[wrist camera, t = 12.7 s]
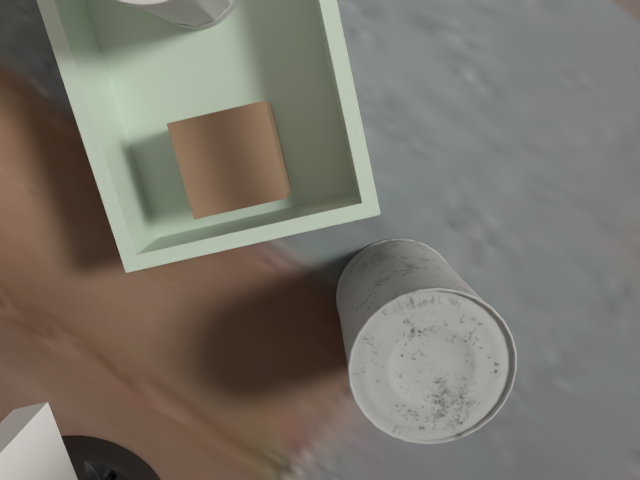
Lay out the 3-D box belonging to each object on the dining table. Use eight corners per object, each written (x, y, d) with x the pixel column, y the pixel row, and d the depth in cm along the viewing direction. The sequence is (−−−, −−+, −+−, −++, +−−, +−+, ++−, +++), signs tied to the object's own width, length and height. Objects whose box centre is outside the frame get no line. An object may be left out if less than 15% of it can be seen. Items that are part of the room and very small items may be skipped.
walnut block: (211, 204, 38) (194, 219, 32) (188, 123, 37) (166, 123, 31) (290, 186, 38) (287, 198, 32) (270, 103, 37) (263, 100, 31)
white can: (322, 337, 42) (328, 425, 30) (354, 224, 40) (374, 269, 28) (435, 364, 42) (485, 459, 31) (472, 254, 40) (541, 310, 28)
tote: (152, 250, 40) (125, 272, 34) (45, -92, 34) (-8, -136, 29) (369, 200, 39) (380, 214, 33) (295, -155, 34) (293, -212, 28)
